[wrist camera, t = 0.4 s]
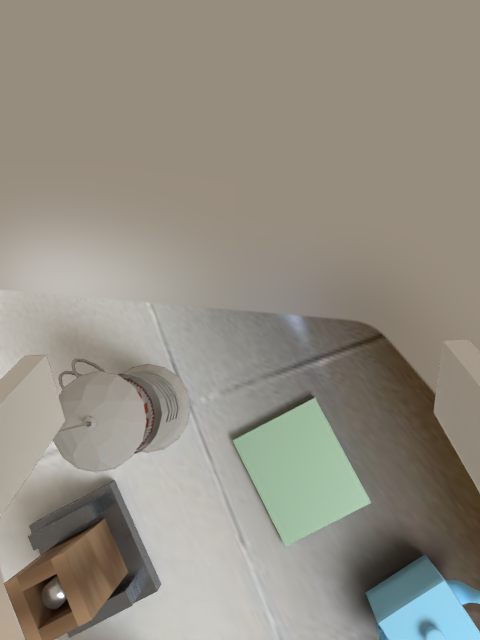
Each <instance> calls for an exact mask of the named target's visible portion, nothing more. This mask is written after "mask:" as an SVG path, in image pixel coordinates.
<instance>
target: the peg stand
mask: <svg viewBox="0 0 480 640" xmlns="http://www.w3.org/2000/svg"><path fill="white" fill-rule="evenodd" d="M103 519H105V520H106V522H107V525H108V527H109V529H110V532H111V534H112V536H113V538H114V541H115V543H116V545H117V547H118V550H119V552H120V554H121V557H122V559H123V561H124V563H125V566H126V568H127V570H128V573H127V574H126V576H125V577H124V578H123V580H122V581H121V582H120V584H119V585H118V586H117V588H116V589H115V590H114V592H113V593H112V594H111V595H110V597H109V598H108V599H107V601H106V602H105V603H104V605H103V606H102V607H101V609H100V610H99V611H98V612H97V614H96V615H95V616H94V618H93V619H92V620H91V621H89V622H87V623H85V624H83V625H81V626H79V627H77V628H75V629H73V630H71V631H69V632H67V633H68V635H69V638H70V637H72V636H74V635H76V634H78V633H80V632H82V631H84V630H86V629H87V628H89V627H91V626H93V625H95V624H97V623H99V622H101V621H103V620H105V619H107V618H109V617H111V616H113V615H115V614H117V613H119V612H121V611H123V610H125V609H127V608H128V607H130V606H132V605H133V603H135V602H137V601H139V600H141V599H143V598H145V597H147V596H149V595H151V594H153V593H154V592H156V591H158V589H159V587H160V585H161V583H160V581H159V578H158V576H157V574H156V572H155V569H154V567H153V565H152V563H151V561H150V558H149V556H148V554H147V552H146V549H145V547H144V545H143V543H142V540H141V538H140V536H139V534H138V531H137V529H136V527H135V525H134V523H133V520H132V518H131V516H130V514H129V511H128V509H127V507H126V505H125V502H124V500H123V498H122V496H121V494H120V491H119V489H118V487H117V485H116V482H115V481H113V482H111V483H109V484H107V485H105V486H103V487H101V488H99V489H97V490H96V491H94V492H92V493H90V494H88V495H86V496H84V497H82V498H80V499H78V500H76V501H74V502H73V503H71V504H69V505H67V506H65V507H63V508H61V509H59V510H57V511H55V512H53V513H51V514H50V515H48V516H46V517H44V518H42V519H40V520H38V521H36V522H35V523H33V524H31V525H30V526H29V527H30V529H31V532H32V534H31V535H29V536H28V538H29V540H30V542H31V545H32V547H33V550H36V549H37V548H38V549H39V551H40V554H41V555H42V554H43V553H45V552H46V551H47V550H49V549H50V548H51V547H52V546H54V545H55V544H57V543H58V542H60V541H62V540H64V539H66V538H68V537H70V536H72V535H74V534H76V533H78V532H80V531H82V530H83V529H85V528H87V527H89V526H91V525H93V524H95V523H97V522H99V521H101V520H103ZM41 598H42V602H43V603H44V605H45V606H46V607H48V608H50V609H56V608H59V607H60V606H61V605H62V604H63V603H64V602H65V601H66V600H67V598H66V595H65V593H64V590H63V588H62V586H61V583H60V581H59V578H58V576H56V577H55V578H53V579H52V580H51V581H50V582H49V583H48V584H47V585H46V586H45V587H44V588H43V590H42V594H41Z"/></svg>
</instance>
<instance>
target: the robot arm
mask: <svg viewBox="0 0 480 640" xmlns="http://www.w3.org/2000/svg"><path fill="white" fill-rule="evenodd" d="M434 414H435V416H436V417H437V419H438V421H439V423H440V424H441V426H442V428H443V429H444V431H445V433H446V435H447V436H448V438H449V440H450V442H451V443H452V445H453V447H454V449H455V450H456V452H457V454H458V456H459V457H460V459H461V461H462V463H463V464H464V466H465V468H466V470H467V471H468V473H469V475H470V477H471V478H472V480H473V482H474V484H475V485H476V487H477V489H478V491H479V492H480V352H479V351H478V350H477V349H476V348H475V347H474V346H473V345H472V344H471V342H470V341H469V340H451V341H443V346H442V354H441V361H440V368H439V376H438V384H437V391H436V398H435V405H434ZM64 422H65V418H64V414H63V411H62V407H61V404H60V400H59V397H58V393H57V390H56V386H55V383H54V379H53V376H52V372H51V369H50V365H49V362H48V358H47V355H30V356H24V357H23V358H22V359H21V360H20V361H19V362H18V363H17V364H16V365H15V366H14V367H13V368H12V369H11V370H10V371H9V372H8V373H7V374H6V375H5V376H4V377H3V378H2V379H1V380H0V517H1V516H2V514H3V513H4V511H5V510H6V508H7V507H8V505H9V504H10V502H11V501H12V499H13V498H14V496H15V495H16V493H17V492H18V491H19V489H20V488H21V486H22V485H23V483H24V482H25V480H26V479H27V477H28V476H29V474H30V473H31V471H32V470H33V468H34V467H35V465H36V464H37V462H38V461H39V459H40V458H41V456H42V455H43V453H44V452H45V450H46V449H47V447H48V446H49V444H50V443H51V441H52V440H53V438H54V437H55V435H56V434H57V432H58V431H59V429H60V428H61V426H62V425H63V423H64Z"/></svg>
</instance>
